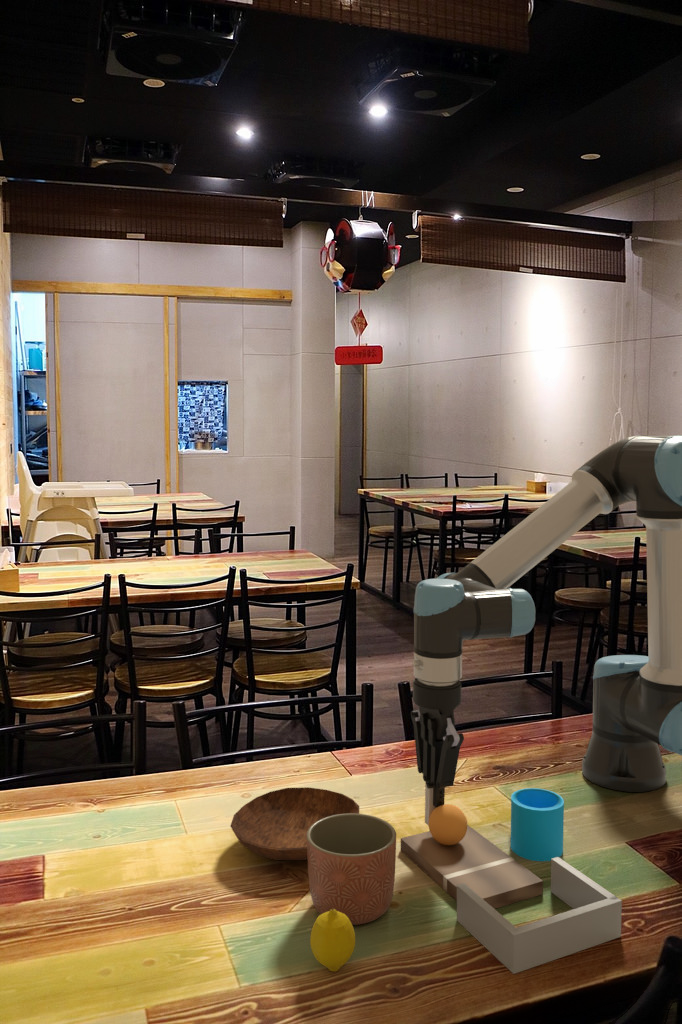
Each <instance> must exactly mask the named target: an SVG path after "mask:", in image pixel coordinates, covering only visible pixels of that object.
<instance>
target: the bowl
mask: <svg viewBox="0 0 682 1024" xmlns="http://www.w3.org/2000/svg"><path fill="white" fill-rule="evenodd" d="M347 813H356V814H360V805H359V804H358V803H357V802H356V801H355V800H354V799H353V798H351V797H349V796H347V795H345V794H344V793H340V792H337V791H332V790H329V789H323V788H317V787H316V788H315V787H305V786H304V787H284V788H281V789H277V790H272V791H269V792H267V793H264V794H261V795H259V796H256V797H255V798H253V799H252V800H250V801H249V802H247V803H245V804H244V805H242V807H240V809H238V810H237V812H235V813H234V814H233V817H232V820H231V823H230V828H231V830H232V831H233V833H234V835H235V836H236V838H237V840H238V841H239V843H240V845H242V846H243V847H244V848H247V849H248V850H249V851H252V852H253V853H255V854H256V855H258V856H260V857H264V858H267V859H271V860H274V861H304V860H308V857H307V831H308V829H309V828H310V827H311V825H313V824H314V823H315V822H317V821H319V820H321V819H323V818H325V817H329V816H332V815H337V814H347Z"/></svg>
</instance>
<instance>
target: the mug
mask: <svg viewBox="0 0 682 1024" xmlns="http://www.w3.org/2000/svg"><path fill="white" fill-rule="evenodd" d="M564 801H565V800H564V798H563V797H562V796H561V795H560V794H559V793H557V792H555V791H551V790H550V789H549V790H548V789H545V788H540V787H539V788H537V787H525V788H521V789H517V790H516V791H513V793H512V794H511V796H510V850H511V851H512V852H513V853H514V854H515V855H517V856H518V857H521V859H522V858H523V859H525V860H529V861H533V862H551V859H552V858H555V857H559V858H561V856H562V855H563V853H564V826H565V825H564V820H565V817H564V815H565V802H564Z"/></svg>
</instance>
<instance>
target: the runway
mask: <svg viewBox="0 0 682 1024" xmlns="http://www.w3.org/2000/svg"><path fill="white" fill-rule="evenodd" d="M400 851H401V853H403V854H404V855H405V856H406V857H407V858H408V859H409V860H410V861H412V862H413V863H414V864H415V865H416V866H417V867H418V868H420V869H421V871H422V872H424V873H425V874H426V875H427V876H428V877H429V878H431V879H432V880H433V881H434V882H435V883H436V884H437V885H438V886H440V888H442V890H444V891H445V892H446V893H447V894H448V895H449V896H450V897H452V898H453V900H455V901H456V902H457V885H460V884H463V883H465V884H466V885H467V886H468V887H469V888H470V889H472V890H473V891H474V892H475V893H476V894H477V895H479V896H480V897H481V898H482V899H483V900H484V901H486V902H487V903H488V904H489V905H490V906H491V907H493V908H494V909H495V910H496V909H500V908H502V907H506V906H508V905H511V904H516V903H519V902H522V901H526V900H529V899H532V898H535V897H539V896H541V895H544V880H543V879H542V878H540V877H538V876H537V875H536V874H534V873H533V872H532V871H531V870H530V869H528V868H526V867H525V866H524V865H522V864H521V863H520V862H519V861H517V860H515V859H514V857H512V856H510V855H509V854H508V853H506V851H504V850H503V849H501V848H499V847H498V845H497V844H496V845H495V844H494V843H493V842H492V841H490V840H489V839H487V837H485V836H483V835H482V834H480V833H479V831H477V830H475V829H474V828H473V827H471V826H470V825H468V824H467V832H466V834H465V836H464V838H463V839H462V840H461V841H460V842H458V843H457V844H454V845H444V844H441V843H439V842H438V841H436V840H435V839H434V838H433V836H432V835H431V833H430V830H429V831H425V832H421V833H416V834H412V835H408V836H404V837H401V838H400Z"/></svg>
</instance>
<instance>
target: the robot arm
mask: <svg viewBox="0 0 682 1024" xmlns="http://www.w3.org/2000/svg"><path fill="white" fill-rule="evenodd" d="M630 502H636V503H635V505H636V506H635V507H636V509H635V510H636V515H635V516H636V518H637V519H638V520H639V521H640V522H641V524H643V525H644V526H645V533H646V534H645V535H646V539H645V540H646V583H647V584H646V585H647V586H646V587H647V589H646V590H647V591H646V593H647V645H648V647H647V648H648V649H647V650H648V651H647V652H648V653H647V654H648V656H647V655H640V654H639V655H638V654H619V655H617V654H616V655H615V654H614V655H608V656H603V657H601V658H599V659H597V660H596V661H595V664H594V667H593V674H592V675H593V676H592V681H593V687H592V693H593V694H592V733H591V736H590V738H589V741H588V745H587V748H586V753H585V754H584V755H583V757H582V762H581V763H582V764H581V765H582V767H581V769H582V770H581V773H582V775H583V776H584V777H585V779H587V780H588V781H589V782H591V783H592V784H595V785H598V786H600V787H603V788H606V789H610V790H614V791H620V792H630V793H643V792H645V793H646V792H650V791H651V792H652V791H655V790H658V789H660V788H662V787H663V786H665V784H666V782H667V769H666V765H665V764H664V762H663V756H662V753H661V749H660V746H661V747H662V748H663V749H664V750H665V751H668V752H671V753H675V754H677V755H679V756H682V435H678V434H676V435H643V434H642V435H641V434H639V435H632V436H629V437H625V438H623V439H621V440H619V441H616V442H614V443H612V444H611V445H609V446H607V447H606V448H604V449H602V450H601V451H600V452H598V453H597V454H596V455H594V456H593V457H592V458H590V459H588V461H587V462H585V463H584V464H582V465H581V466H580V467H579V468H578V469H576V470H575V471H574V472H573V473H572V475H571V481H570V482H569V483H568V484H567V485H565V486H564V487H563V488H561V490H559V491H557V493H555V494H554V495H553V496H552V497H550V498H549V499H548V500H547V501H546V502H544V503H542V505H540V506H539V507H537V508H536V510H535V511H533V512H531V513H530V514H529V515H528V516H527V517H525V518H524V519H523V520H522V521H520V522H519V523H517V525H516V526H514V527H513V528H512V529H510V530H509V531H507V533H506V534H504V535H503V536H502V537H501V538H498V540H497V541H496V542H494V543H493V544H492V545H490V547H488V548H487V549H486V550H484V551H483V552H482V553H481V554H479V555H478V556H477V557H476V558H474V559H473V560H472V561H471V562H469V563H468V564H467V565H465V566H464V567H463V568H462V569H461V570H459V571H458V572H446V573H442V574H441V575H439V576H438V577H436V578H428V579H424V580H423V579H422V580H421V581H419V582H418V584H417V585H416V587H415V593H414V601H413V604H414V605H413V609H412V611H413V627H414V628H413V633H414V634H413V640H414V641H413V644H414V645H413V661H412V666H413V676H414V677H415V678H414V679H413V681H412V701H413V702H414V704H415V705H416V706H418V709H417V710H415V709H414V710H411V711H410V717H411V720H412V725H413V733H414V745H415V753H416V754H415V755H416V764H417V771H418V774H422V778H423V782H425V786H424V787H425V790H424V791H425V792H424V796H425V798H424V799H425V800H424V823H425V824H426V825H427V826H428V827H429V818H430V815H431V813H432V812H433V810H434V809H435V808H437V807H438V806H440V805H444V804H445V799H446V798H445V793H446V790H445V789H446V788H449V787H453V786H454V784H455V778H456V772H457V766H458V761H459V755H460V750H461V746H462V745H463V743H464V741H465V736H464V734H463V733H462V732H459V733H458V732H457V730H456V728H455V725H456V719H455V714H454V711H455V709H456V708H458V707H459V706H460V704H461V703H462V682H461V679H462V677H463V645H464V644H463V643H464V641H469V640H471V641H472V640H482V639H484V640H485V639H498V638H499V639H501V638H509V639H510V638H513V637H518V636H524V635H527V634H529V633H530V632H531V631H532V629H533V628H534V627H535V622H536V606H535V602H534V600H533V598H532V595H531V594H530V593H529V592H528V591H527V590H525V589H523V588H511V586H512V585H513V584H514V583H516V582H517V581H518V580H520V578H522V577H523V576H524V575H526V574H527V573H528V572H529V571H530V570H532V569H533V568H535V566H537V565H538V564H539V563H541V562H542V561H544V559H545V558H547V557H548V556H549V555H550V554H552V553H553V552H554V551H555V550H556V549H557V548H559V547H560V546H562V545H563V544H564V543H565V542H566V541H568V540H569V539H570V538H572V537H573V535H575V534H576V533H577V532H579V531H580V530H581V529H582V528H583V527H585V526H586V525H588V524H589V523H590V522H591V521H592V520H593V519H595V518H596V517H597V516H598V515H602V514H603V515H608V514H610V513H611V512H612V511H614V510H615V509H616V508H618V507H620V506H621V505H624V504H627V503H630Z"/></svg>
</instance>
